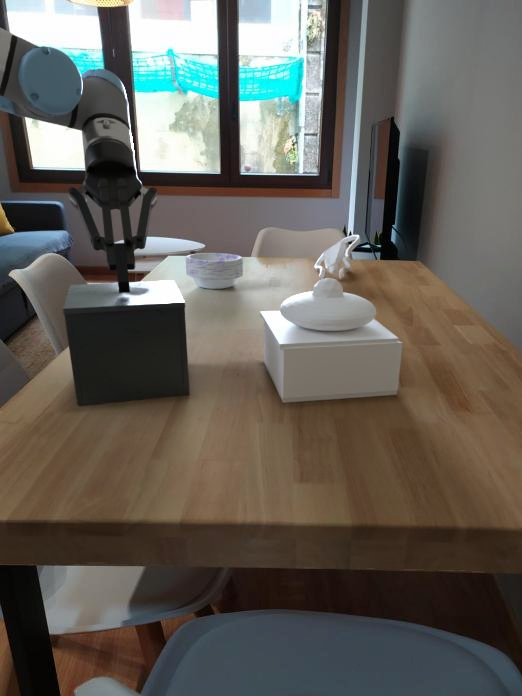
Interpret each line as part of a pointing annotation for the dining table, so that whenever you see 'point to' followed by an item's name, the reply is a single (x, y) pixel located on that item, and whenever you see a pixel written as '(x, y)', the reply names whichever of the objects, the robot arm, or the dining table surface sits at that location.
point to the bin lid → (122, 297)
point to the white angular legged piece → (337, 257)
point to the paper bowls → (214, 269)
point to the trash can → (128, 355)
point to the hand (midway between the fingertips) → (124, 287)
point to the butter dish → (329, 347)
